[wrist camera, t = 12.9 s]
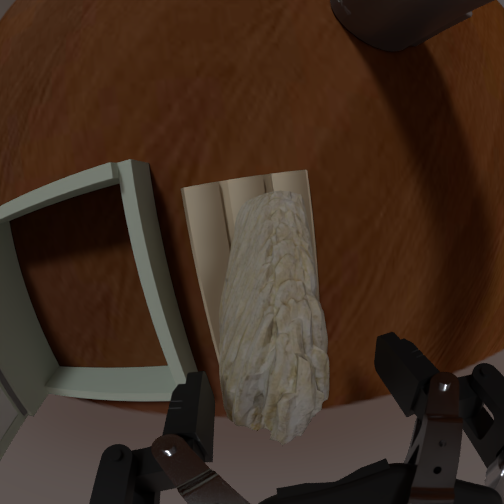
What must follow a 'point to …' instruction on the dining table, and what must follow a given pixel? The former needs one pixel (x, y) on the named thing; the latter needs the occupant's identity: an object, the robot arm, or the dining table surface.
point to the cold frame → (29, 330)
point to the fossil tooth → (272, 320)
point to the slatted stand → (229, 228)
